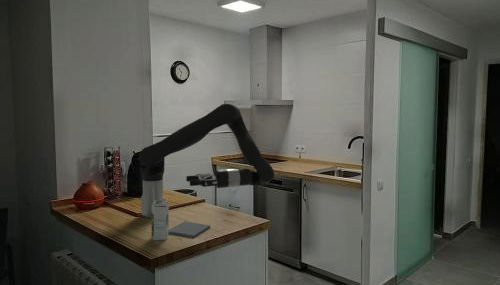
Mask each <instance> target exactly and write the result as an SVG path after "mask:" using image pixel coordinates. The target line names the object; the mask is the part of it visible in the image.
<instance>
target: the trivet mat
mask: <svg viewBox="0 0 500 285" xmlns="http://www.w3.org/2000/svg"><path fill="white" fill-rule="evenodd" d="M210 228H211V225H209V224H205V223H203V224H202V223H197V222H190V221H182V222H180V223H179V224H177V225H174V226H173V227H171V228H169V234H170V235H175V236H180V237H186V238H191V237H192V238H191V239H195V238H196V237H198V236H199V235H201V234H203V233H204V232H206V231H207V230H209V229H210ZM202 232H203V233H202ZM169 234H168V235H169Z"/></svg>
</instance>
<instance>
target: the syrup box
mask: <svg viewBox="0 0 500 285" xmlns="http://www.w3.org/2000/svg"><path fill="white" fill-rule="evenodd" d="M169 203H170V202H169V200H167V199H166V200H164V199H163V200H156V201H154V202H153V204H152V217H151V241H167V239H168V237H169V229H170V227H169V218H170V217H169V214H170V213H169V210H170V209H169Z"/></svg>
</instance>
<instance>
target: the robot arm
mask: <svg viewBox="0 0 500 285" xmlns="http://www.w3.org/2000/svg"><path fill="white" fill-rule="evenodd" d="M224 125H226V126H228V128H229V129H230V131H231V132H232V134H233V135H234V136H235V138H236V141H237V143H238V147H239V149H240V151H241V153H242V156H243V157H244V158H245V161H246V162H247V164H248V166H250V167H253V168H254V169H255V170H251V169H250V168H238V169H237V168H225V169H216V170H215V171H214V174H212V173H209V172H208V173H196V174H195V175H187V176H186V178H185V179H186V182H189V186H191V187H195V186H201V187H202V188H205V187H216V188H217V189H222V188H223V189H225V188H226V189H227V188H234V187H240V186H255V187H256V186H257V187H260V186H266V185H267V184H269V183H270V182H272V180H274V177H275V170H274V168H273V166H272V165H271V163H269V162H268V160H267V159H266V158H265V157H264V156H263V155H262V153H261V151H260V150H259V147H258V146H257V145H256V143H255V141H254V139H253V138H252V136H251V134H250V132H249V130H248V129H247V126H246V124H245V121H244V119H243V117H242V114H241V110H240V109H239V108H238V107H237V106H236V105H234V104H232V103H229V102H226V103H225V102H224V103H223V104H221V105H219V106H217V107H216V108H214V109H213V110H212V111H210V112H209V113H207V114H206V115H204V116H202V117H200V118H198V119H196V120H195V121H192V122H191V123H188V124H187V125H184V126H182V127H181V128H179V129H177V130H176V131H174V132H173V133H171V134H169V135H168V136H166V137H165V138H163V139H162V140H159V141H157V142H156V143H154V144H151V145H149V146H146V147H144V148H142V149H141V150H140V152H139V154H138V160H139V161H138V162H140V164H142V165H143V166H145V169H144V172H143V174H142V195H141V197H140V198H141V200H140V201H141V216H143V217H146V218H152V204H153V202H154V201H156V200H164V186H163V185H164V174H165V158H166V157H168V156H170V155H171V154H175V153H177V152H180V151H182V150H185V149H187V148H189V147H190V148H191V147H192V146H194V145H195V144H197V143H198V142H200V141H201V140H203V139H204V138H205V137H206V136H208V134H209V133H210V132H212V131H213V130H215V129H217V128H219V127H222V126H224Z"/></svg>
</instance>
